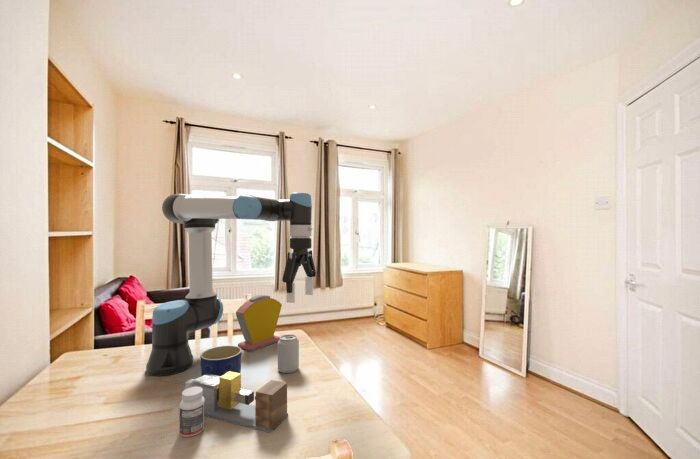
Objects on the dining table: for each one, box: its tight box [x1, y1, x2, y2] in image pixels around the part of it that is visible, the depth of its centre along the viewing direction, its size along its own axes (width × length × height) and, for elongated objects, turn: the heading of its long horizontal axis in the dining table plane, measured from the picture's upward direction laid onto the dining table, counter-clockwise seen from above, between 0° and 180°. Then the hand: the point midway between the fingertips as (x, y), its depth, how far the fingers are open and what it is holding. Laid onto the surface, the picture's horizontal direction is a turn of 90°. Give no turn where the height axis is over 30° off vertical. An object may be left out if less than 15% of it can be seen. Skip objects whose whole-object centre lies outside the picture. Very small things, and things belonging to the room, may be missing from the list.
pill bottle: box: [179, 387, 206, 438], centre depth 79 cm, size 6×6×10 cm
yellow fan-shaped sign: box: [235, 294, 283, 352], centre depth 141 cm, size 22×9×22 cm, turn 145°
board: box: [205, 403, 289, 434], centre depth 87 cm, size 27×8×1 cm, turn 70°
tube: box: [184, 371, 255, 409], centre depth 89 cm, size 22×4×8 cm, turn 70°
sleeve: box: [192, 374, 221, 412], centre depth 90 cm, size 8×5×8 cm
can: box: [277, 333, 300, 374], centre depth 114 cm, size 8×8×12 cm
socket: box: [254, 379, 288, 432], centre depth 83 cm, size 5×7×9 cm
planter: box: [199, 345, 243, 377], centre depth 102 cm, size 12×12×11 cm
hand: (300, 298), depth 110 cm, fingers open, 13 cm apart
